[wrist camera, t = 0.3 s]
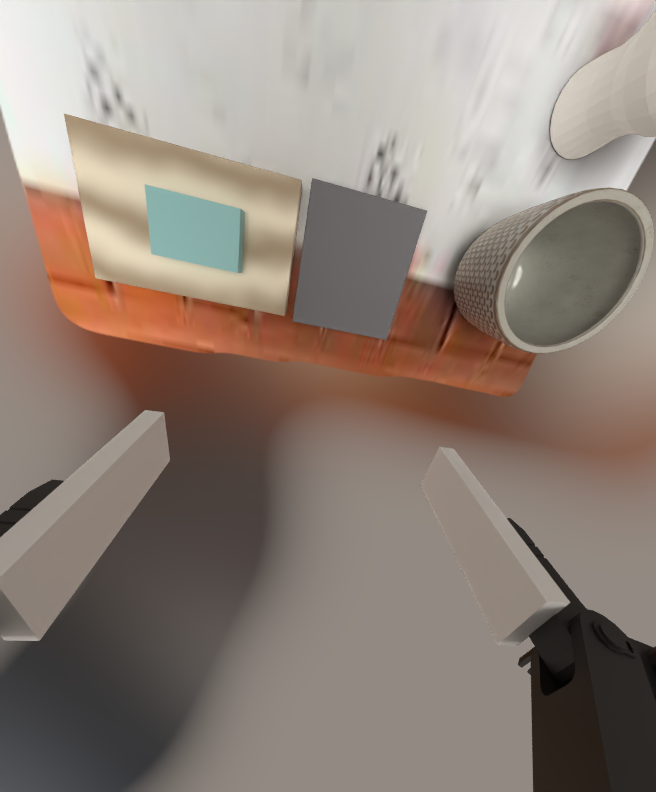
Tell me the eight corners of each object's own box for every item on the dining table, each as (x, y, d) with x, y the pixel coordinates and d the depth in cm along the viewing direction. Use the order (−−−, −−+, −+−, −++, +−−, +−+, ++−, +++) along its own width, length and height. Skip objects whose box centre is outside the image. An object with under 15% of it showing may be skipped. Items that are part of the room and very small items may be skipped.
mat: (312, 179, 29) (312, 178, 28) (425, 211, 31) (427, 210, 30) (292, 320, 36) (292, 321, 35) (385, 339, 38) (386, 339, 37)
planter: (497, 185, 30) (612, 137, 18) (558, 263, 34) (682, 263, 23) (414, 288, 35) (465, 300, 23) (477, 345, 39) (545, 379, 28)
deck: (89, 129, 26) (63, 113, 23) (302, 187, 29) (301, 180, 26) (113, 276, 32) (95, 278, 29) (286, 312, 35) (284, 315, 33)
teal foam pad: (161, 254, 29) (151, 254, 27) (155, 189, 26) (144, 184, 24) (242, 272, 30) (237, 273, 28) (245, 212, 27) (240, 208, 26)
